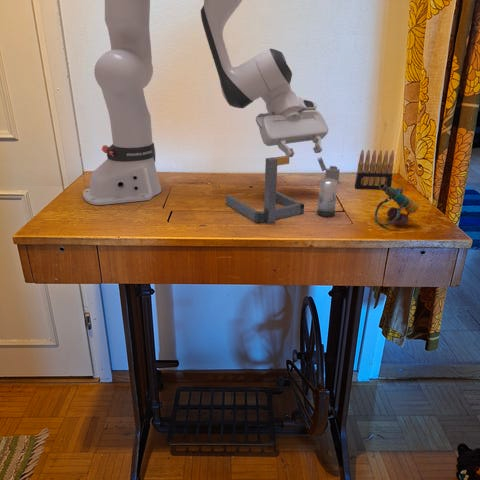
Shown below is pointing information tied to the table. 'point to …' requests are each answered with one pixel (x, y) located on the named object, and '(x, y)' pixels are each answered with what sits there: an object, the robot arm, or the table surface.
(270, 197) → the grey metal bar frame
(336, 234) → the table surface
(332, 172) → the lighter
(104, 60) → the robot arm
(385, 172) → the ammunition clip
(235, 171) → the table surface
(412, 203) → the binoculars
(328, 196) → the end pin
